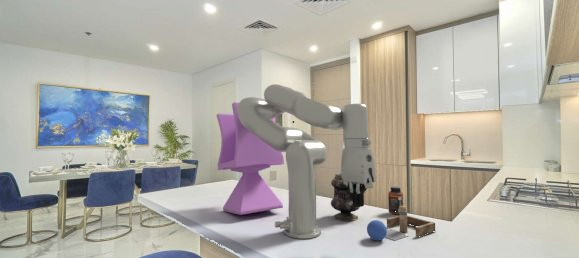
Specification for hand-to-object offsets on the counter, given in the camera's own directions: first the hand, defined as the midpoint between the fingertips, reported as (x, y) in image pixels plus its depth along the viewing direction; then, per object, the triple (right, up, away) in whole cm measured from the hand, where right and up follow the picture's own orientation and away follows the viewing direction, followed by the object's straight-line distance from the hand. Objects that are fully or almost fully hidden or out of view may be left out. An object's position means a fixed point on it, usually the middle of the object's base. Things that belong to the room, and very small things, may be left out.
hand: (358, 206), depth 77 cm
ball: (+7, -9, +5) cm, 12 cm away
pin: (+19, -12, +12) cm, 26 cm away
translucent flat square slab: (+14, -12, +9) cm, 21 cm away
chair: (-37, -13, +36) cm, 53 cm away
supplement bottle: (+26, -14, +35) cm, 45 cm away
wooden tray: (+22, -13, +14) cm, 29 cm away
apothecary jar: (+3, -14, +29) cm, 32 cm away
